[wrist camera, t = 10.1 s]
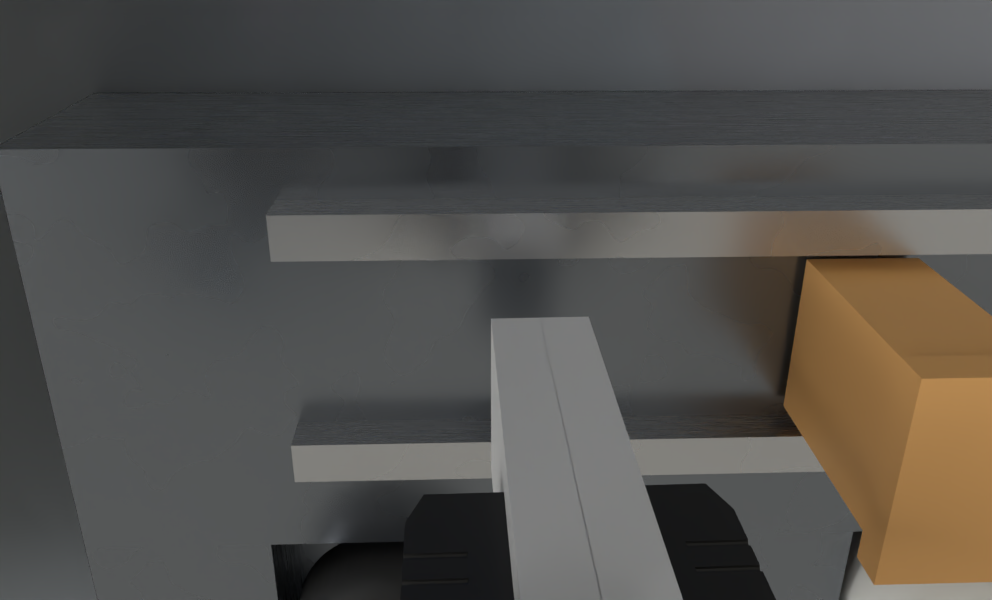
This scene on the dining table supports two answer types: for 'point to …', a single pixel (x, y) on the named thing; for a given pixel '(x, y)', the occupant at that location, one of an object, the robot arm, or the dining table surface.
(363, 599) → the black button
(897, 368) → the toggle knob
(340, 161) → the panel
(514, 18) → the dining table surface
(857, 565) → the white button
